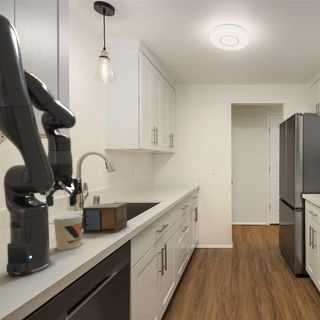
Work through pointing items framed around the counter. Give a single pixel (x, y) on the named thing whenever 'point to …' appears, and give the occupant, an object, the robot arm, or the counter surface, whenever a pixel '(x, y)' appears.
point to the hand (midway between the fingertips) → (61, 206)
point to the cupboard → (109, 217)
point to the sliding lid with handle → (91, 220)
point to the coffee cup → (68, 231)
